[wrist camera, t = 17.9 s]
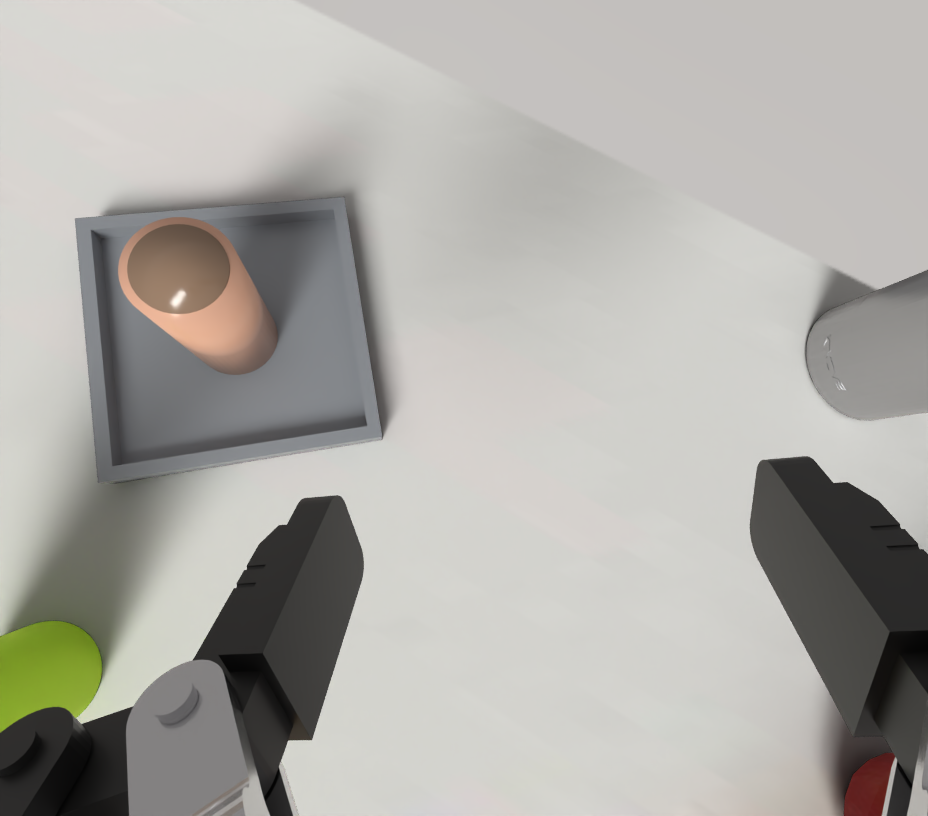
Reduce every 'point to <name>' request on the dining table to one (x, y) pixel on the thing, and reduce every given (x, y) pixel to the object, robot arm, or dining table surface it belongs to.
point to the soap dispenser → (47, 670)
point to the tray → (217, 394)
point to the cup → (198, 293)
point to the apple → (869, 787)
